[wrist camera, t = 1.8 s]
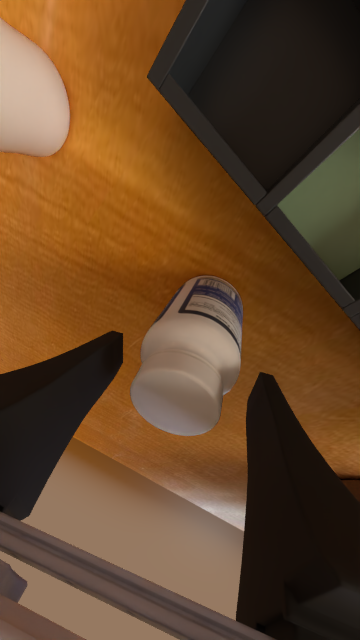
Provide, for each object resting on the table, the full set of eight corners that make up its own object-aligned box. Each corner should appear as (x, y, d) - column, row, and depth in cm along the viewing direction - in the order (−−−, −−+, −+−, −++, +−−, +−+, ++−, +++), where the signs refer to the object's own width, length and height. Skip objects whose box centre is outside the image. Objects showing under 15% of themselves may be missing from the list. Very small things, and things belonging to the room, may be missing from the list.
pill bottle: (192, 342, 20) (151, 449, 11) (163, 289, 18) (90, 370, 10) (253, 325, 17) (257, 444, 9) (227, 262, 15) (202, 338, 7)
